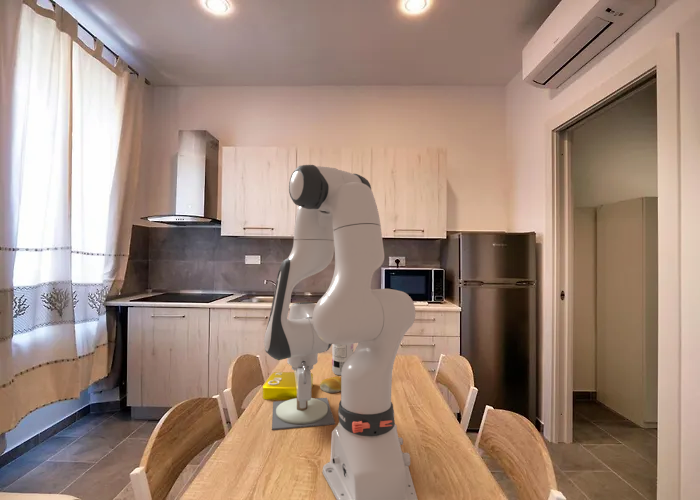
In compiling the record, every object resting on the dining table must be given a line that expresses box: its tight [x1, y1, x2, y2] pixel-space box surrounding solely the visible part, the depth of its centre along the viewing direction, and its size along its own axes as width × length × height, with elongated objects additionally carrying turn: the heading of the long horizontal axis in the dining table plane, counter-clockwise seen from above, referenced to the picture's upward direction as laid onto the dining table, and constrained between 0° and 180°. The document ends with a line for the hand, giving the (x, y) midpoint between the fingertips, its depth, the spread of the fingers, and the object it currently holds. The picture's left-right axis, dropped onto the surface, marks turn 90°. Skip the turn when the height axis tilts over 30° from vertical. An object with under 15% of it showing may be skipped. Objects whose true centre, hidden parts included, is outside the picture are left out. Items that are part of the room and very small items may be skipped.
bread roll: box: [319, 375, 341, 394], centre depth 121 cm, size 8×9×4 cm
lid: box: [276, 397, 328, 424], centre depth 102 cm, size 15×15×6 cm
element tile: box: [262, 371, 314, 401], centre depth 118 cm, size 15×15×5 cm
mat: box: [271, 397, 336, 431], centre depth 102 cm, size 17×17×1 cm
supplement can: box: [331, 344, 354, 377], centre depth 137 cm, size 8×8×15 cm
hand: (302, 403), depth 102 cm, fingers closed on lid, 3 cm apart
